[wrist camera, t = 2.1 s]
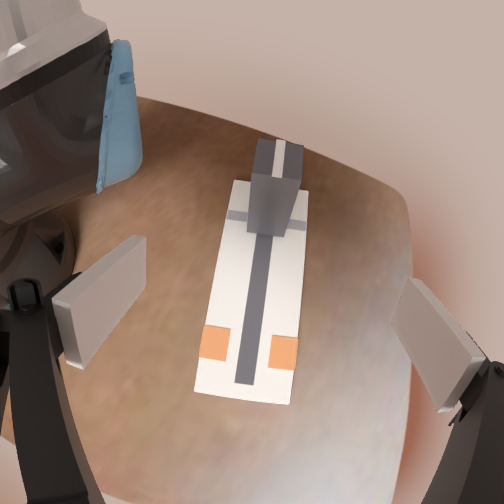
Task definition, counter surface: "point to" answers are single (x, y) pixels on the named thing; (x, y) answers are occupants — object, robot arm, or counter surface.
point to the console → (254, 307)
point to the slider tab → (274, 186)
